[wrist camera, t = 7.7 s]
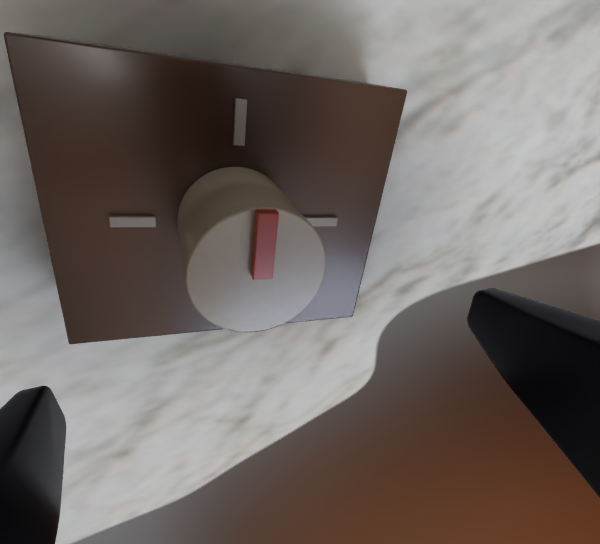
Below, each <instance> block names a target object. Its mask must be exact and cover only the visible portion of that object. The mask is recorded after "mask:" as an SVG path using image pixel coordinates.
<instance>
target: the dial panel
mask: <svg viewBox="0 0 600 544" xmlns="http://www.w3.org/2000/svg"><path fill="white" fill-rule="evenodd" d="M4 39H5V44H6V49H7V53H8V58H9V63H10V68H11V72H12V77H13V82H14V86H15V91H16V96H17V101H18V105H19V110H20V115H21V119H22V124H23V129H24V134H25V138H26V143H27V148H28V152H29V157H30V162H31V167H32V171H33V176H34V181H35V185H36V190H37V195H38V200H39V204H40V209H41V214H42V218H43V223H44V228H45V233H46V237H47V242H48V247H49V251H50V256H51V261H52V266H53V270H54V275H55V280H56V284H57V289H58V294H59V299H60V303H61V308H62V313H63V317H64V322H65V327H66V332H67V336H68V341H69V344H77V343H87V342H97V341H108V340H118V339H128V338H138V337H148V336H159V335H169V334H179V333H189V332H199V331H209V330H220V329H224V328H221V327H219V326H217V325H215V324H213V323H211V322H210V321H208V320H207V319H206V318H204V317H203V316H202V315H201V314H200V313H199V312H198V311H197V310H196V308H195V307H194V305H193V304H192V302H191V300H190V298H189V296H188V293H187V289H186V284H185V276H184V269H183V261H182V254H181V247H180V239H179V232H178V224H177V219H178V211H179V206H180V204H181V201H182V199H183V197H184V195H185V193H186V192H187V191H188V189H189V188H190V187H191V186H192V185H193V184H194V182H196V181H197V180H198V179H199V178H201V177H202V176H204V175H206V174H207V173H209V172H212V171H214V170H217V169H221V168H226V167H245V168H249V169H253V170H255V171H258V172H260V173H262V174H264V175H265V176H267V177H268V178H269V179H271V180H272V181H273V182H274V183H275V184H276V185H277V187H278V188H279V189H280V190H281V191H282V192H283V193H284V194H285V196H286V197H287V198H288V199H289V200H290V201H291V202H292V203H293V205H294V206H295V207H296V208H297V209H298V210H299V211H300V212H301V213H302V215H303V216H304V217H305V218H306V219H307V220H308V221H309V222H310V224H311V225H312V226H313V227H314V228H315V230H316V231H317V232H318V234H319V236H320V238H321V240H322V242H323V245H324V248H325V254H326V269H325V274H324V278H323V281H322V284H321V286H320V288H319V290H318V292H317V294H316V295H315V297H314V298H313V300H312V301H311V302H310V303H309V305H308V306H307V307H306V308H305V309H304V310H303V311H302V312H300V313H299V314H298V315H296V316H295V317H294V318H292V319H291V320H289V321H287V322H285V323H291V322H301V321H311V320H322V319H332V318H342V317H352V316H353V312H354V308H355V304H356V300H357V296H358V292H359V288H360V284H361V280H362V275H363V271H364V267H365V263H366V259H367V255H368V251H369V247H370V242H371V238H372V234H373V230H374V226H375V222H376V218H377V214H378V210H379V205H380V201H381V197H382V193H383V189H384V185H385V181H386V177H387V173H388V168H389V164H390V160H391V156H392V152H393V148H394V144H395V140H396V135H397V131H398V127H399V123H400V119H401V115H402V111H403V107H404V103H405V98H406V94H407V91H406V90H404V89H398V88H392V87H386V86H380V85H375V84H369V83H362V82H355V81H348V80H341V79H334V78H327V77H321V76H314V75H307V74H300V73H293V72H286V71H279V70H272V69H266V68H259V67H252V66H245V65H238V64H231V63H224V62H217V61H211V60H204V59H197V58H190V57H183V56H176V55H169V54H162V53H156V52H149V51H142V50H135V49H128V48H121V47H114V46H107V45H101V44H94V43H87V42H80V41H73V40H66V39H59V38H52V37H45V36H39V35H30V34H20V33H10V32H5V33H4Z"/></svg>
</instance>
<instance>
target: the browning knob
mask: <svg viewBox="0 0 600 544" xmlns="http://www.w3.org/2000/svg"><path fill="white" fill-rule="evenodd" d="M177 224H178V232H179V239H180V247H181V254H182V261H183V269H184V276H185V284H186V289H187V293H188V296H189V298H190V300H191V302H192V304H193V305H194V307H195V308H196V310H197V311H198V312H199V313H200V314H201V315H202V316H203V317H204V318H206V319H207V320H208V321H210V322H211V323H213V324H215V325H217V326H219V327H221V328H224V329H227V330H231V331H237V332H257V331H263V330H267V329H271V328H274V327H276V326H279V325H281V324H283V323H285V322H287V321H289V320H291V319H292V318H294V317H295V316H296V315H298V314H299V313H300V312H302V311H303V310H304V309H305V308H306V307H307V306H308V305H309V303H310V302H311V301H312V300H313V298H314V297H315V295H316V294H317V292H318V290H319V288H320V286H321V284H322V281H323V278H324V274H325V269H326V254H325V248H324V245H323V242H322V240H321V238H320V236H319V234H318V232H317V231H316V230H315V228H314V227H313V226H312V225H311V224H310V222H309V221H308V220H307V219H306V218H305V217H304V216H303V215H302V213H301V212H300V211H299V210H298V209H297V208H296V207H295V206H294V205H293V203H292V202H291V201H290V200H289V199H288V198H287V197H286V196H285V194H284V193H283V192H282V191H281V190H280V189H279V188H278V187H277V185H276V184H275V183H274V182H273V181H272V180H271V179H269V178H268V177H267V176H265V175H264V174H262V173H260V172H258V171H255V170H253V169H249V168H245V167H226V168H221V169H217V170H214V171H212V172H209V173H207V174H206V175H204V176H202V177H201V178H199V179H198V180H197V181H196V182H194V184H193V185H192V186H191V187H190V188H189V189H188V191H187V192H186V193H185V195H184V197H183V199H182V201H181V204H180V206H179V211H178V219H177Z"/></svg>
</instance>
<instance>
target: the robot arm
mask: <svg viewBox="0 0 600 544" xmlns="http://www.w3.org/2000/svg"><path fill="white" fill-rule="evenodd" d="M467 322H468V326H469V328H470V330H471V331H472V333H473V334H474V336H475V337H476V339H477V340H478V342H479V343H480V345H481V346H482V348H483V349H484V351H485V352H486V354H487V355H488V357H489V358H490V360H491V361H492V363H493V364H494V365H495V367H496V368H497V370H498V371H499V373H500V374H501V376H502V377H503V379H504V380H505V381H506V383H507V384H508V385H509V386H510V388H511V389H512V390H513V391H514V393H515V394H516V395H517V396H518V398H519V399H520V400H521V401H522V403H523V404H524V405H525V406H526V407H527V409H528V410H529V411H530V412H531V414H532V415H533V416H534V417H535V419H536V420H537V421H538V422H539V424H540V425H541V426H542V427H543V428H544V430H545V431H546V432H547V433H548V435H549V436H550V437H551V438H552V439H553V441H554V442H555V443H556V444H557V446H558V447H559V448H560V449H561V451H562V452H563V453H564V454H565V456H566V457H567V458H568V459H569V460H570V461H571V463H572V464H573V465H574V466H575V468H576V469H577V470H578V472H579V473H580V474H581V475H582V476H583V478H584V479H585V480H586V481H587V483H588V484H589V485H590V486H591V488H592V489H593V490H594V491H595V492H596V494H597V495H598V496H599V497H600V320H596V319H593V318H589V317H587V316H583V315H580V314H577V313H574V312H570V311H567V310H564V309H561V308H557V307H554V306H551V305H548V304H544V303H541V302H538V301H535V300H532V299H528V298H525V297H521V296H519V295H515V294H512V293H509V292H506V291H502V290H499V289H496V288H488V289H483V290H479V291H477V292H476V293H475V294H474V296H473V300H472V303H471V307H470V310H469V313H468V317H467ZM65 438H66V421H65V417H64V414H63V412H62V410H61V408H60V406H59V404H58V402H57V400H56V398H55V396H54V394H53V392H52V391H51V389H50V388H49V387H47V386H40V387H35V388H31V389H26V390H22V391H20V392H18V393H17V394H16V395H14V396H13V397H12V398H11V399H10V400H9V401H8V402H7V403H6V404H5V405H4V406H3V407H2V408H1V409H0V544H55V540H56V535H57V529H58V523H59V516H60V506H61V494H62V480H63V466H64V452H65Z"/></svg>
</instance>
